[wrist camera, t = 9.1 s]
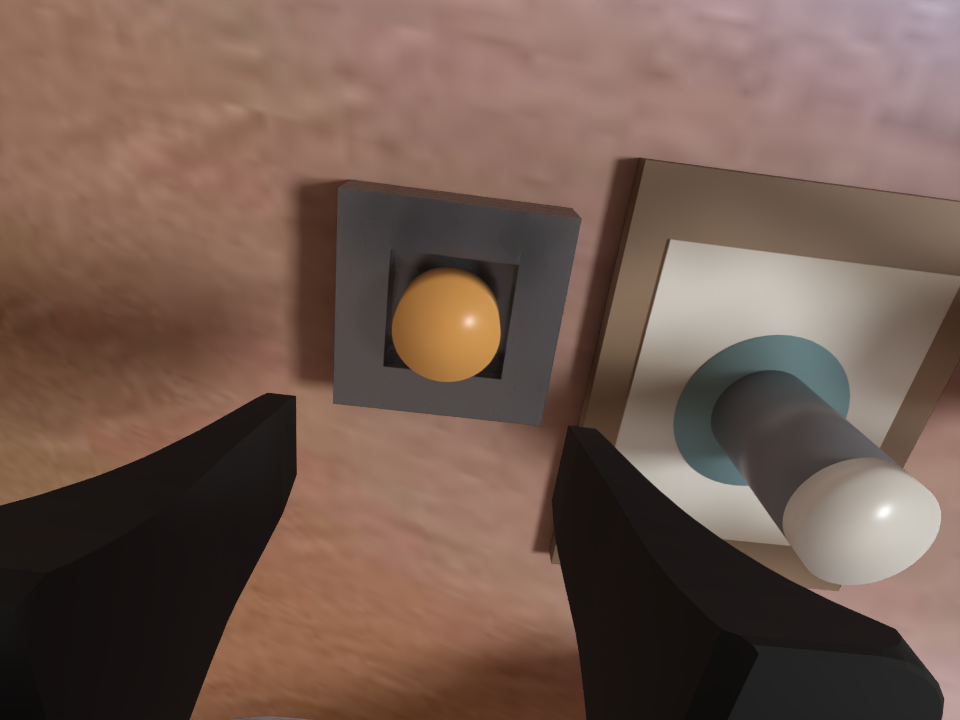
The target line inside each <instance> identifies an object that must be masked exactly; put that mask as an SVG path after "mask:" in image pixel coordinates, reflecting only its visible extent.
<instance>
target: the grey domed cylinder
mask: <svg viewBox="0 0 960 720" xmlns="http://www.w3.org/2000/svg"><path fill="white" fill-rule="evenodd" d="M711 428H712V432H713V435H714V437H715V438H716V440H717V442H718V443H719V444H720V446H721V447H722V449H723V450H724V452H725V453H726V454H727V456H728V457H729V459H730V460H731V461H732V463H733V464H734V466H735V467H736V469H737V470H738V471H739V473H740V474H741V476H742V477H743V479H744V480H745V481H746V483H747V484H748V486H749V487H750V488H751V490H752V491H753V493H754V494H755V496H756V497H757V498H758V500H759V501H760V503H761V504H762V506H763V507H764V508H765V510H766V511H767V513H768V514H769V515H770V517H771V518H772V520H773V521H774V523H775V524H776V525H777V527H778V528H779V530H780V531H781V533H782V534H783V535H784V537H785V538H786V540H787V541H788V542H789V544H790V545H791V547H792V548H793V550H794V551H795V552H796V554H797V555H798V557H799V558H800V560H801V561H802V562H803V564H804V565H805V566H806V568H807V569H808V570H809V571H810V572H811V573H812V574H813V575H815V576H816V577H818V578H820V579H822V580H824V581H827V582H830V583H834V584H840V585H862V584H869V583H873V582H877V581H880V580H883V579H886V578H889V577H891V576H893V575H895V574H897V573H899V572H901V571H903V570H905V569H906V568H908V567H909V566H911V565H912V564H913V563H915V562H916V561H917V560H918V559H919V558H920V557H921V556H923V555H924V553H925V552H926V551H927V550H928V549H929V547H930V546H931V545H932V543H933V542H934V540H935V538H936V536H937V534H938V531H939V528H940V523H941V511H940V507H939V504H938V502H937V500H936V498H935V497H934V495H933V494H932V493H931V492H930V491H929V490H928V489H926V488H925V487H924V486H923V485H922V484H921V483H919V482H918V481H917V480H916V479H915V478H914V477H912V476H911V475H910V474H909V473H908V472H907V471H906V470H904V469H903V468H902V467H901V466H900V465H899V464H897V463H896V462H895V461H894V460H893V459H892V458H890V457H889V456H888V455H887V454H886V453H885V452H883V451H882V450H881V449H880V448H879V447H878V446H877V445H875V444H874V443H873V442H872V441H871V440H870V439H868V438H867V437H866V436H865V435H864V434H863V433H861V432H860V431H859V430H858V429H857V428H856V427H854V426H853V425H852V424H851V423H850V422H849V421H847V420H846V419H845V418H844V417H843V416H842V415H841V414H839V413H838V412H837V411H836V410H835V409H834V408H832V407H831V406H830V405H829V404H828V403H827V402H825V401H824V400H823V399H822V398H821V397H820V396H818V395H817V394H816V393H815V392H814V391H813V390H811V389H810V388H809V387H808V386H807V385H806V384H805V383H803V382H802V381H801V380H800V379H798V378H797V377H796V376H794V375H792V374H790V373H787V372H783V371H777V370H765V371H759V372H755V373H751V374H749V375H746V376H744V377H742V378H740V379H738V380H737V381H735V382H734V383H733V384H731V385H730V386H729V387H728V388H727V389H726V390H725V391H724V392H723V393H722V394H721V395H720V397H719V398H718V400H717V402H716V403H715V406H714V408H713V411H712V415H711Z"/></svg>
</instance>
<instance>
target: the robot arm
mask: <svg viewBox="0 0 960 720" xmlns="http://www.w3.org/2000/svg"><path fill="white" fill-rule="evenodd" d="M296 475H297V458H296V396H292V395H283V394H273V393H266V394H264V395H262V396H260V397H258V398H256V399H254V400H252V401H250V402H249V403H247V404H245V405H243V406H242V407H240V408H238V409H236V410H235V411H233V412H231V413H229V414H228V415H226V416H224V417H222V418H220V419H219V420H217V421H215V422H213V423H211V424H210V425H208V426H206V427H204V428H202V429H201V430H199V431H197V432H195V433H193V434H191V435H189V436H187V437H185V438H183V439H181V440H179V441H177V442H175V443H173V444H171V445H169V446H167V447H165V448H163V449H161V450H159V451H157V452H155V453H152V454H150V455H148V456H146V457H144V458H141V459H139V460H137V461H134V462H132V463H129V464H127V465H124V466H122V467H119V468H117V469H114V470H112V471H109V472H107V473H104V474H101V475H99V476H96V477H93V478H90V479H87V480H84V481H81V482H78V483H75V484H72V485H69V486H66V487H63V488H59V489H56V490H53V491H50V492H47V493H44V494H41V495H38V496H34V497H31V498H27V499H23V500H19V501H16V502H12V503H8V504H5V505H1V506H0V720H189V719H190V717H191V714H192V712H193V709H194V706H195V704H196V701H197V698H198V696H199V693H200V690H201V688H202V685H203V682H204V680H205V677H206V674H207V672H208V669H209V666H210V664H211V661H212V659H213V656H214V654H215V651H216V649H217V646H218V644H219V641H220V639H221V636H222V634H223V631H224V629H225V626H226V624H227V621H228V619H229V617H230V615H231V613H232V611H233V609H234V607H235V604H236V602H237V600H238V598H239V596H240V595H241V593H242V591H243V589H244V587H245V585H246V583H247V581H248V579H249V577H250V575H251V574H252V572H253V570H254V568H255V566H256V564H257V562H258V560H259V558H260V556H261V555H262V553H263V551H264V549H265V547H266V545H267V543H268V541H269V539H270V537H271V535H272V533H273V532H274V530H275V528H276V526H277V524H278V522H279V520H280V518H281V516H282V514H283V511H284V509H285V506H286V503H287V501H288V498H289V495H290V492H291V489H292V486H293V483H294V481H295V478H296ZM552 507H553V521H554V532H555V541H556V546H557V551H558V555H559V560H560V565H561V569H562V574H563V578H564V583H565V587H566V592H567V596H568V601H569V605H570V610H571V614H572V619H573V623H574V627H575V632H576V638H577V643H578V649H579V656H580V665H581V673H582V682H583V690H584V699H585V709H586V719H587V720H941V719H942V715H943V706H944V697H943V694H942V691H941V689H940V686H939V683H938V682H937V681H936V680H935V678H934V677H933V676H932V674H931V673H930V672H929V671H928V669H927V668H926V667H925V666H924V664H923V663H922V662H921V661H920V659H919V658H918V657H917V655H916V654H915V653H914V652H913V650H912V649H911V648H910V647H909V645H908V644H907V643H906V641H905V640H904V639H903V638H902V636H901V635H900V634H899V633H898V631H897V630H896V629H894V628H892V627H889V626H887V625H885V624H883V623H880V622H878V621H876V620H874V619H871V618H869V617H867V616H864V615H862V614H860V613H858V612H855V611H853V610H851V609H848V608H846V607H844V606H842V605H839V604H837V603H835V602H832V601H830V600H828V599H826V598H824V597H822V596H820V595H818V594H816V593H814V592H812V591H810V590H808V589H806V588H805V587H803V586H801V585H799V584H797V583H795V582H793V581H791V580H789V579H787V578H785V577H784V576H782V575H780V574H778V573H776V572H775V571H773V570H771V569H769V568H767V567H766V566H764V565H762V564H761V563H759V562H758V561H756V560H754V559H753V558H751V557H749V556H748V555H746V554H744V553H743V552H741V551H740V550H738V549H736V548H735V547H733V546H732V545H730V544H729V543H727V542H726V541H724V540H723V539H721V538H720V537H718V536H717V535H716V534H714V533H713V532H711V531H710V530H709V529H707V528H706V527H705V526H703V525H702V524H700V523H699V522H698V521H696V520H695V519H694V518H692V517H691V516H690V515H688V514H687V513H686V512H685V511H683V510H682V509H681V508H680V507H679V506H677V505H676V504H675V503H674V502H673V501H672V500H670V499H669V498H668V497H667V496H666V495H665V494H663V493H662V492H661V491H660V490H659V489H658V488H657V487H656V486H654V485H653V484H652V483H651V482H650V481H649V480H648V479H647V478H646V477H645V476H644V475H643V474H642V473H641V472H640V471H638V470H637V469H636V468H635V467H634V466H633V465H632V464H631V463H630V462H629V461H628V460H627V459H626V458H625V457H624V456H623V455H622V454H621V453H620V452H619V451H618V450H617V449H616V448H615V447H614V446H613V445H612V444H611V443H610V442H609V441H608V440H607V439H606V438H605V437H604V436H603V435H602V434H601V433H600V432H599V431H598V430H597V429H595V428H586V427H577V426H568V430H567V435H566V439H565V444H564V448H563V453H562V457H561V462H560V466H559V471H558V475H557V480H556V484H555V489H554V493H553V498H552ZM227 720H311V719H298V718H286V717H273V716H259V717H248V718H237V719H227Z"/></svg>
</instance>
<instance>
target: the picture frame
mask: <svg viewBox="0 0 960 720" xmlns="http://www.w3.org/2000/svg"><path fill="white" fill-rule="evenodd" d="M959 360H960V201H956V200H949V199H942V198H934V197H927V196H919V195H912V194H905V193H897V192H890V191H882V190H875V189H868V188H860V187H853V186H845V185H838V184H831V183H823V182H816V181H808V180H801V179H794V178H786V177H779V176H771V175H764V174H757V173H749V172H742V171H734V170H727V169H720V168H712V167H705V166H698V165H690V164H683V163H675V162H668V161H661V160H653V159H646V158H640V159H639V163H638V167H637V172H636V176H635V180H634V185H633V189H632V194H631V198H630V202H629V207H628V211H627V215H626V220H625V224H624V228H623V233H622V237H621V241H620V246H619V250H618V255H617V259H616V263H615V268H614V272H613V276H612V281H611V285H610V289H609V294H608V298H607V302H606V307H605V311H604V316H603V320H602V324H601V329H600V333H599V337H598V342H597V346H596V350H595V355H594V359H593V363H592V368H591V372H590V377H589V381H588V385H587V390H586V394H585V398H584V403H583V407H582V411H581V416H580V420H579V424H578V427H586V428H595V429H597V430H598V431H599V432H600V433H601V434H602V435H603V436H604V437H605V438H606V439H607V440H608V441H609V442H610V443H611V444H612V445H613V446H614V447H615V448H616V449H617V450H618V451H619V452H620V453H621V454H622V455H623V456H624V457H625V458H626V459H627V460H628V461H629V462H630V463H631V464H632V465H633V466H634V467H635V468H636V469H637V470H638V471H640V472H641V473H642V474H643V475H644V476H645V477H646V478H647V479H648V480H649V481H650V482H651V483H652V484H653V485H654V486H656V487H657V488H658V489H659V490H660V491H661V492H662V493H663V494H665V495H666V496H667V497H668V498H669V499H670V500H672V501H673V502H674V503H675V504H676V505H677V506H679V507H680V508H681V509H682V510H683V511H685V512H686V513H687V514H688V515H690V516H691V517H692V518H694V519H695V520H696V521H698V522H699V523H700V524H702V525H703V526H705V527H706V528H707V529H709V530H710V531H711V532H713V533H714V534H716V535H717V536H718V537H720V538H721V539H723V540H724V541H726V542H727V543H729V544H730V545H732V546H733V547H735V548H736V549H738V550H740V551H741V552H743V553H744V554H746V555H748V556H749V557H751V558H753V559H754V560H756V561H758V562H759V563H761V564H762V565H764V566H766V567H767V568H769V569H771V570H773V571H775V572H776V573H778V574H780V575H782V576H784V577H785V578H787V579H789V580H791V581H793V582H795V583H797V584H799V585H801V586H803V587H805V588H812V589H822V590H833V591H839V589H840V587H841V585H840V584H834V583H830V582H827V581H824V580H822V579H820V578H818V577H816V576H815V575H813V574H812V573H811V572H810V571H809V570H808V569H807V568H806V566H805V565H804V564H803V562H802V561H801V560H800V558H799V557H798V555H797V554H796V552H795V551H794V550H793V548H792V547H791V545H790V544H789V542H788V541H787V540H786V538H785V537H784V535H783V534H782V533H781V531H780V530H779V528H778V527H777V525H776V524H775V523H774V521H773V520H772V518H771V517H770V515H769V514H768V513H767V511H766V510H765V508H764V507H763V506H762V504H761V503H760V501H759V500H758V498H757V497H756V496H755V494H754V493H753V491H752V490H751V488H750V487H749V486H748V484H747V483H746V481H745V480H744V479H743V477H742V476H741V474H740V473H739V471H738V470H737V469H736V467H735V466H734V464H733V463H732V461H731V460H730V459H729V457H728V456H727V454H726V453H725V452H724V450H723V449H722V447H721V446H720V444H719V443H718V442H717V440H716V438H715V437H714V435H713V432H712V428H711V415H712V411H713V408H714V406H715V403H716V402H717V400H718V398H719V397H720V395H721V394H722V393H723V392H724V391H725V390H726V389H727V388H728V387H729V386H730V385H731V384H733V383H734V382H735V381H737V380H738V379H740V378H742V377H744V376H746V375H749V374H751V373H755V372H759V371H765V370H777V371H783V372H787V373H790V374H792V375H794V376H796V377H797V378H798V379H800V380H801V381H802V382H803V383H805V384H806V385H807V386H808V387H809V388H810V389H811V390H813V391H814V392H815V393H816V394H817V395H818V396H820V397H821V398H822V399H823V400H824V401H825V402H827V403H828V404H829V405H830V406H831V407H832V408H834V409H835V410H836V411H837V412H838V413H839V414H841V415H842V416H843V417H844V418H845V419H846V420H847V421H849V422H850V423H851V424H852V425H853V426H854V427H856V428H857V429H858V430H859V431H860V432H861V433H863V434H864V435H865V436H866V437H867V438H868V439H870V440H871V441H872V442H873V443H874V444H875V445H877V446H878V447H879V448H880V449H881V450H882V451H883V452H885V453H886V454H887V455H888V456H889V457H890V458H892V459H893V460H894V461H895V462H896V463H897V464H899V465H900V466H901V467H902V468H903V467H904V465H905V463H906V461H907V459H908V457H909V455H910V454H911V452H912V450H913V448H914V446H915V444H916V442H917V440H918V438H919V436H920V435H921V433H922V431H923V429H924V427H925V425H926V423H927V421H928V419H929V417H930V415H931V414H932V412H933V410H934V408H935V406H936V404H937V402H938V400H939V398H940V396H941V394H942V393H943V391H944V389H945V387H946V385H947V383H948V381H949V379H950V377H951V375H952V373H953V372H954V370H955V368H956V366H957V364H958V362H959ZM549 552H550V558H551V564H560V560H559V555H558V551H557V546H556V541H555V532H554V533H553V538H552V542H551V546H550V551H549Z"/></svg>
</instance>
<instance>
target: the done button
mask: <svg viewBox="0 0 960 720" xmlns="http://www.w3.org/2000/svg"><path fill="white" fill-rule="evenodd" d="M500 335H501V330H500V318H499V309H498V304H497V301H496V298H495V296H494V294H493V292H492V290H491V289H490V287H489V286H488V285H487V284H486V283H485V282H484V281H483V280H482V279H481V278H480V277H478V276H477V275H475V274H474V273H472V272H470V271H468V270H465V269H461V268H457V267H439V268H434V269H431V270H428V271H426V272H424V273H422V274H420V275H419V276H417V277H416V278H415V279H414V280H413V281H411V283H410V284H409V285H408V286H407V288H406V289H405V291H404V293H403V295H402V297H401V299H400V302H399V304H398V307H397V309H396V312H395V315H394V318H393V323H392V338H393V342H394V346H395V348H396V351H397V353H398V354H399V356H400V358H401V359H402V360H403V362H404V363H405V364H406V365H407V366H408V367H409V368H410V369H412V370H413V371H414V372H416V373H417V374H419V375H421V376H423V377H425V378H428V379H431V380H434V381H440V382H455V381H461V380H464V379H467V378H470V377H472V376H474V375H476V374H477V373H479V372H480V371H482V370H483V369H484V368H485V367H486V366H487V365H488V364H489V363H490V362H491V360H492V359H493V357H494V356H495V354H496V352H497V349H498V347H499V342H500Z"/></svg>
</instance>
